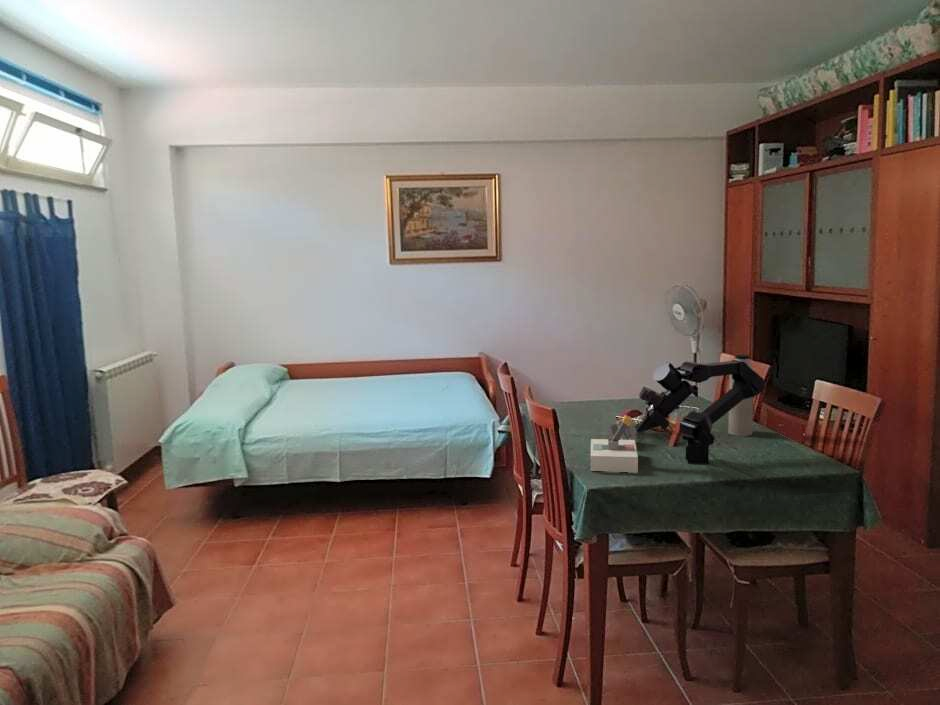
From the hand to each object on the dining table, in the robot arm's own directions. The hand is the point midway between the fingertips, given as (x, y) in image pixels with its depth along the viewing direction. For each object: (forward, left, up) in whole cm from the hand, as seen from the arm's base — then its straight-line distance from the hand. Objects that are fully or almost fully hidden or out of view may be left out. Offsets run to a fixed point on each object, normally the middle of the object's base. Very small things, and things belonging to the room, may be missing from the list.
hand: (636, 431), depth 222 cm
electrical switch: (+3, -20, -11) cm, 23 cm away
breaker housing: (+7, 0, -10) cm, 13 cm away
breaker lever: (+7, 0, -4) cm, 8 cm away
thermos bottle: (-38, -37, -11) cm, 54 cm away
